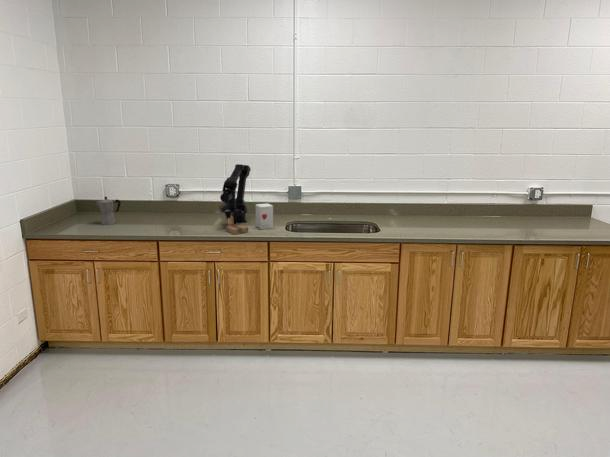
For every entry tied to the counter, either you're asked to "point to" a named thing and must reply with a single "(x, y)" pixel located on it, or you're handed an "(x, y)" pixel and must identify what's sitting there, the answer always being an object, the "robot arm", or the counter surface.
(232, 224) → the terracotta cylinder
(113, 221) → the coffeepot
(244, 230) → the tan flat block
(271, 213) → the supplement box
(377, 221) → the counter surface
